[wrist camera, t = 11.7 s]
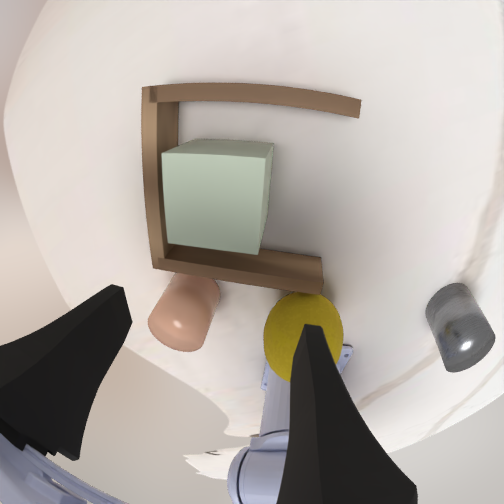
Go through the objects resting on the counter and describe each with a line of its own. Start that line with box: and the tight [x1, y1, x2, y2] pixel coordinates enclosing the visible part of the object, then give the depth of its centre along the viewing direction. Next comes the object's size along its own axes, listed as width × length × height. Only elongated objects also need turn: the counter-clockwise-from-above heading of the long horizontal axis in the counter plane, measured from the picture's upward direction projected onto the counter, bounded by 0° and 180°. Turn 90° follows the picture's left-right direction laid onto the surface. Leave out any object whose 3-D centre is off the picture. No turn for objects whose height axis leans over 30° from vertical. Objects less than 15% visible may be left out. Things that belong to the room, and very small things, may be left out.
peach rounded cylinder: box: [148, 273, 220, 352], centre depth 21 cm, size 4×4×5 cm
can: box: [426, 283, 495, 372], centre depth 17 cm, size 5×5×6 cm
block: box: [162, 139, 274, 255], centre depth 15 cm, size 5×5×5 cm
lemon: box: [264, 292, 343, 382], centre depth 18 cm, size 6×6×8 cm
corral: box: [141, 83, 361, 295], centre depth 16 cm, size 12×12×3 cm
